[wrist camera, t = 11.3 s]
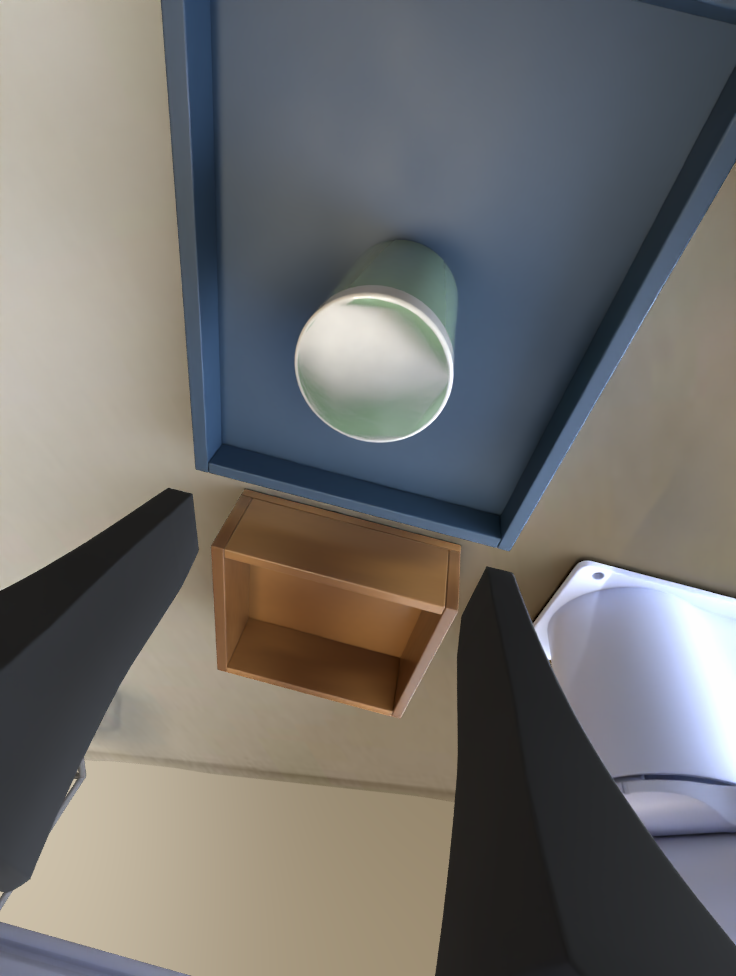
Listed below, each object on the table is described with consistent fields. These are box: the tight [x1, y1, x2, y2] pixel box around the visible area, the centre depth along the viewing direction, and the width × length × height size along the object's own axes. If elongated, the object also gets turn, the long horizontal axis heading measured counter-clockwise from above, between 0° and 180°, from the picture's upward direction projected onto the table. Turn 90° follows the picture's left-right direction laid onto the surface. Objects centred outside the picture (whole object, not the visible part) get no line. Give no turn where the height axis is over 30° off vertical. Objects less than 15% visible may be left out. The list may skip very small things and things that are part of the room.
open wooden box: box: [211, 489, 461, 718], centre depth 26 cm, size 11×11×4 cm
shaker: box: [294, 240, 458, 443], centre depth 14 cm, size 4×4×6 cm
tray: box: [161, 0, 736, 551], centre depth 16 cm, size 14×17×2 cm
